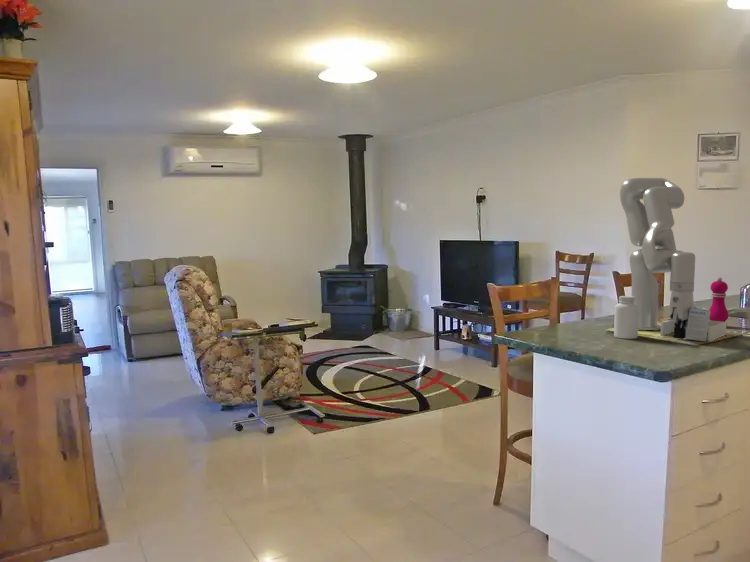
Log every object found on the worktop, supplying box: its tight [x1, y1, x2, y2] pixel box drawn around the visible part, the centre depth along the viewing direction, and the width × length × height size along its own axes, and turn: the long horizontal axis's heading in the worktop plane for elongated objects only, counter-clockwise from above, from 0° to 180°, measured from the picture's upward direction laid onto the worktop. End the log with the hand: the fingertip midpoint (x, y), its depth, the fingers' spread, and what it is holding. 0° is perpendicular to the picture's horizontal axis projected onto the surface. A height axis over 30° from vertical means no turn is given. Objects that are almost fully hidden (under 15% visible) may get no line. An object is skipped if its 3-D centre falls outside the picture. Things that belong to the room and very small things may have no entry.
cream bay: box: [660, 318, 727, 343], centre depth 213 cm, size 17×17×5 cm
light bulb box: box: [684, 306, 710, 342], centre depth 206 cm, size 11×7×11 cm, turn 156°
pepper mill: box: [708, 276, 729, 328], centre depth 231 cm, size 7×7×20 cm
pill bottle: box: [613, 295, 639, 340], centre depth 210 cm, size 8×8×15 cm
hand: (679, 338), depth 206 cm, fingers closed
